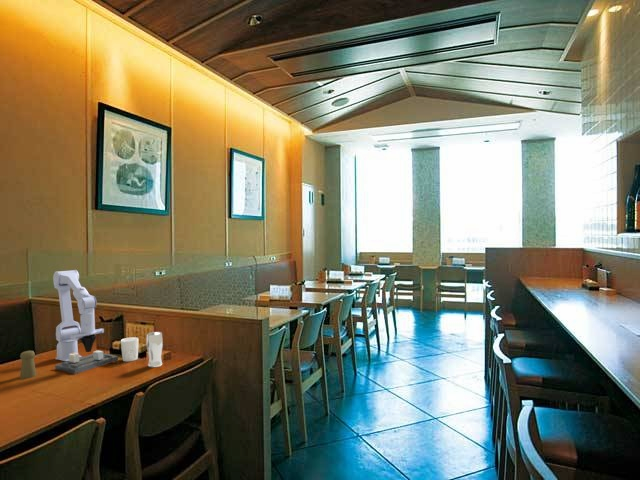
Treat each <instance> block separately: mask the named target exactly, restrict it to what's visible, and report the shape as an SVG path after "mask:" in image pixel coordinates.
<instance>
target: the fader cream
mask: <svg viewBox="0 0 640 480" xmlns="http://www.w3.org/2000/svg"><path fill="white" fill-rule="evenodd" d="M79 355H80V353H79V352H78V353H71V354H69V362H73V363H75V362H78V361H79Z"/></svg>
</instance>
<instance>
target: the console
mask: <svg viewBox="0 0 640 480" xmlns="http://www.w3.org/2000/svg"><path fill="white" fill-rule="evenodd" d="M116 360H117V361H119V357H118V355H115V354H114V355H113V354H108V353H104V352H103V359H101V360H96V359H93V353H91V354H88V355H84V356H82V357H80V358H79V361H78V362H75V363H73V362H69V361H62V362H61V363H58V364H55V366H54V368H55V370H57V371H61V372H64V373H65V372H66V373H70V374H73V375H76V374H79V373H83V372H87V371H88V370H92V369H95V368H98V367H101V366H104V365H106V364H110V363H114V362H116ZM113 361H114V362H113Z"/></svg>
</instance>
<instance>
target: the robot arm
mask: <svg viewBox="0 0 640 480" xmlns="http://www.w3.org/2000/svg"><path fill="white" fill-rule="evenodd" d="M52 280H53V287H54V289H56V290H57V292H58V297H59V298H58V299H59V307H60V308H59V309H60V316H61V322H60V323H59V324H58V325H57V326H56V327H55V339H56V341H58V343H57V344H56V357H55V359H54V360H58V361H59V360H60V361H62V362H67V361H69V354H71V353H78V354H79V349H78V340H80V341H81V343H82V344H83V346H84V347H83V348H84V350H85V352H86V353H91V352H92V350H93V345H94V343H95V340H96V339H97V334H99V335H100V334H104V333H105V328H101V327H100V328H97V329H96V326H95V325H96V324H95V323H96V321H95V319H96V318H95V315H96V314H95V309H96V308H97V304H98V302H97V298H96V296H94V295H91V294H90V293H89V292H88V290H87V289H86V287H85V286H82V284H81V283H80V281H79V280H80V274H79V272H78V270H77V269H73V270H61V271H58V270H56V271H55V272H54V273H53V276H52ZM71 290H72V291H73V292H72V295H73V297H74V298H75V301H77V308H78V313H79V315H80V318H79V319H80V322H78V321H75V320H74V315H73V314H74V313H73V307H72V298H71ZM81 357H83V356H82V355H80V354H79V358H81Z"/></svg>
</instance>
